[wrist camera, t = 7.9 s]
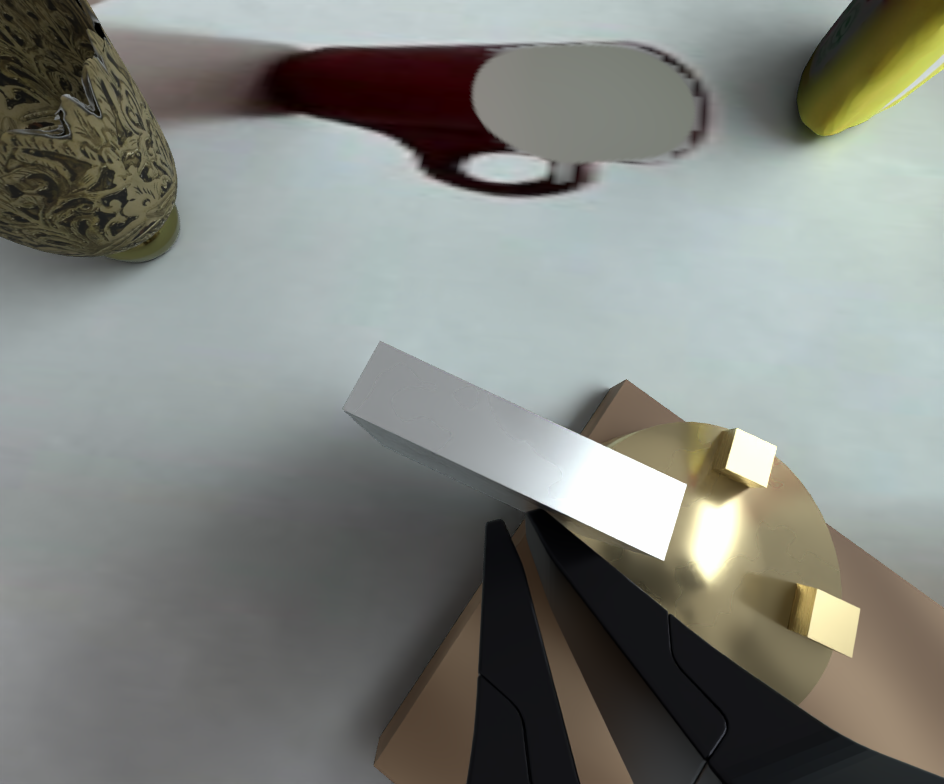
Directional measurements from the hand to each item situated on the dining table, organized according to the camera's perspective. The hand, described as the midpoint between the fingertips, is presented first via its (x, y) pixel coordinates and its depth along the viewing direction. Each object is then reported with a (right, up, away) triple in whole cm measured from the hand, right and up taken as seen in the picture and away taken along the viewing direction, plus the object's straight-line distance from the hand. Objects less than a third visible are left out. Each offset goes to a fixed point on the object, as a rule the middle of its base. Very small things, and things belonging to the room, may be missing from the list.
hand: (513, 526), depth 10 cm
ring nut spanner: (+3, -1, +5) cm, 6 cm away
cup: (-15, +10, +8) cm, 20 cm away
